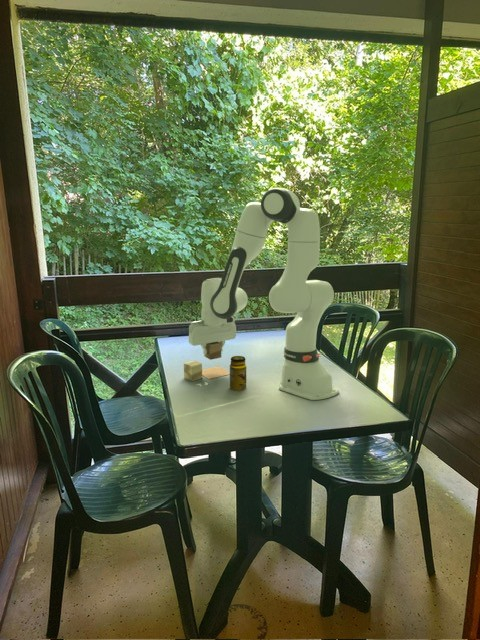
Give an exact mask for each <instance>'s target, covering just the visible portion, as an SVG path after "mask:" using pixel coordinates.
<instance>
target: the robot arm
mask: <svg viewBox="0 0 480 640" xmlns="http://www.w3.org/2000/svg"><path fill="white" fill-rule="evenodd" d="M275 222H278V223H280V224H283V225H284V224H285V225H286V226H287V233H288V234H287V237H288V238H287V255H286V256H287V257H286V264H285V267H284V270H283V273H282V275H281V276H280V278H279V279H278V281H277V282H276V283H274V284H275V285H273V286H272V287H271V289H270V291H269V293H268V301H269V304H270V306H271V308H272V309H273V310H274V311H275V312H277V313H285V314H291V313H292V314H293V313H296V315H295V317H294V318H293V320H292V321H290V322H289V323H288V324H287V325H286V328H285V346H284V349H283V357H284V361H283V365H282V370H281V371H282V372H281V380H280V385H279V386H278V389H279V390H280V391H283V392H285V393H289V394H293V395H294V396H298V397H301V398H303V399H306V400H310V401H318V400H319V401H320V400H324V399H328V398H329V399H330V398H332V397H334V396H336V395H338V394H339V393H340V389H339V388H337V387H336V386H334V385H333V378H332V375H331V373H330V372H329V370H328V369H326V367H325V366H324V365H323V364H322V362H321V361H320V357H321V355H322V353H318V350H317V347H316V345H317V333H318V326H319V323H320V321H321V318H322V316H323V314H324V312H325V311H326V310H327V309H328V307H329V306H331V305H332V303H333V301H334V299H335V298H334V297H335V291H334V289H333V286H332V285H331V283H329V281H324V280H319V279H309V280H308V277H309V275H310V273H311V272H312V271H313V270H315V269H316V268H317V267H318V265H319V263H320V247H321V229H320V219H319V215H318V213H317V212H316V211H315V210H314V209H310V208H306V207H305V208H304V207H302V201H301V198H300V197H299V195H298V194H297V193H296V192H294V191H292V190H290V189H288V188H285V187H273V188H270V189H268V190H266V192H265V193H264V194H263V195H262V197H261V199H260V202H258V201H257V202H256V201H254V202H249V203H247V204H246V205H245V207H244V209H243V210H242V213H241V215H240V217H239V221H238V223H237V227H236V231H235V235H234V239H233V243H232V247H231V248H230V249H231V251H230V253H229V255H228V258H227V261H226V264H225V267H224V271H223V274H222V277H211V278H207V279H205V280H203V282H202V283H201V290H200V291H201V292H200V293H201V294H200V301H201V305H202V307H201V309H200V310H201V313H200V314H201V315H200V317H201V318H200V319H201V320H197V321H192V322H191V323H190V324H189V325H188V344H190V345H191V346H194V347H196V346H201V349H202V350H203V353H202V354H203V355H204V354H209V350H208V349H206V348H205V346H206V344H207V343H213V342H220V343H221V352H223V348H224V346H225V344H226V341H229V340H234V339H236V338H237V326H236V323H235V322H236V318H235V316H234V315H235V314H237V313H239V312H241V311H242V310H243V309H245V308H246V307H247V305H248V302H249V297H248V294H247V292H246V290H244V289H243V288H241V287H239V285H240V281H241V279H242V276H243V273H244V271H245V269H246V267H247V266H248V265H249V264H250V263H251V262H252V261H253V260H255V259H256V258H257V257H259V256H260V254H261V252H262V250H263V247H264V245H265V242H266V238H267V235H268V231H269V228H270V226H271V224H273V223H275Z"/></svg>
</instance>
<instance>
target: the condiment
mask: <svg viewBox="0 0 480 640" xmlns="http://www.w3.org/2000/svg"><path fill="white" fill-rule="evenodd" d="M229 372H230V375H229V387H230V390H232V391H237V392H238V391H239V392H240V391H243V390H244V391H245V390H246V388H247V364H246V357H245V356H243V355H235V356H234V355H233V356H231V357H230V364H229Z"/></svg>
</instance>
